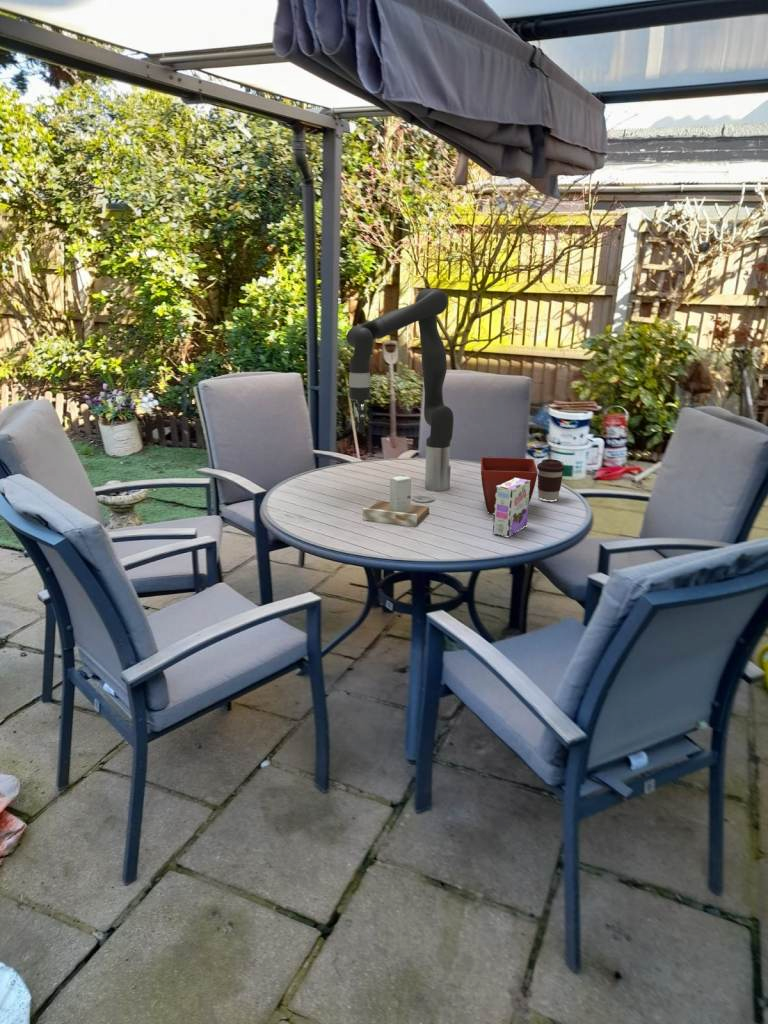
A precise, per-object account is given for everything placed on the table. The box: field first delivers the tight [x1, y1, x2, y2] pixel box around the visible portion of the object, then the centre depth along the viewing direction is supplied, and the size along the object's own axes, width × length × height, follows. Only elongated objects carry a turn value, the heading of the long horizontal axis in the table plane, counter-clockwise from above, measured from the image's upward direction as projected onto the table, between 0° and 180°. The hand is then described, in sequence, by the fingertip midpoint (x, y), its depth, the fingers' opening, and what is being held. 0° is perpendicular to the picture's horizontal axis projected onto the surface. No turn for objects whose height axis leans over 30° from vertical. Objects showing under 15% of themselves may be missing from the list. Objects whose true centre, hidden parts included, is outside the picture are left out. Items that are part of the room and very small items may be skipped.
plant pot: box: [480, 456, 539, 514], centre depth 239 cm, size 19×19×17 cm
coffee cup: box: [536, 458, 565, 500], centre depth 251 cm, size 10×10×15 cm
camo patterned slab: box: [362, 500, 430, 527], centre depth 232 cm, size 19×16×4 cm
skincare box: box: [389, 475, 412, 513], centre depth 228 cm, size 6×4×12 cm
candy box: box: [492, 478, 530, 536], centre depth 217 cm, size 14×6×16 cm, turn 143°
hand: (359, 430), depth 244 cm, fingers open, 8 cm apart
